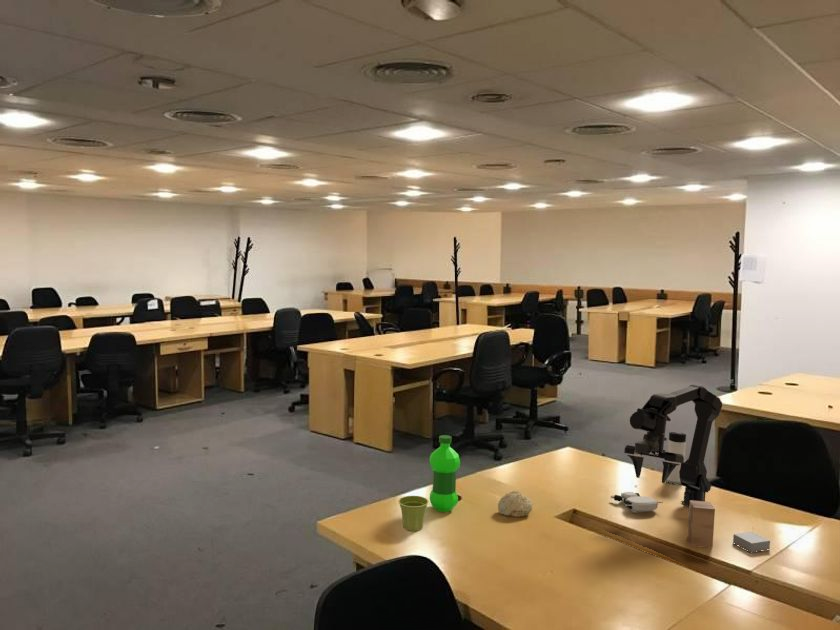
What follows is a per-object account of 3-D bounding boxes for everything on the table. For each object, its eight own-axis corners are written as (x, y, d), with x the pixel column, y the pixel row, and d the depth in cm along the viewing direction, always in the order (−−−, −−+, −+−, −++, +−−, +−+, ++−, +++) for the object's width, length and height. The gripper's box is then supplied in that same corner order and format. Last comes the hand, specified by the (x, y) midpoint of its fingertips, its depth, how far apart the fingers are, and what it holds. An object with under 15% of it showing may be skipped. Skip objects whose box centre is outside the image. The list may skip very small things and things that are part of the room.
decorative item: (519, 511, 215) (497, 491, 221) (512, 531, 219) (490, 510, 225) (542, 498, 223) (521, 479, 229) (535, 517, 227) (513, 498, 233)
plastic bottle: (463, 512, 224) (466, 439, 222) (434, 516, 220) (436, 442, 218) (451, 501, 233) (453, 431, 231) (423, 505, 230) (425, 434, 227)
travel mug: (665, 483, 258) (667, 432, 257) (667, 478, 264) (670, 429, 262) (682, 486, 255) (685, 435, 254) (684, 481, 261) (687, 431, 259)
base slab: (750, 540, 207) (751, 531, 206) (769, 550, 200) (770, 540, 200) (733, 543, 204) (733, 534, 204) (751, 553, 198) (751, 543, 197)
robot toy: (607, 504, 238) (633, 517, 223) (608, 491, 237) (633, 503, 223) (637, 501, 241) (664, 513, 227) (637, 488, 241) (664, 500, 227)
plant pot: (424, 535, 205) (425, 507, 204) (394, 531, 207) (395, 504, 206) (430, 523, 214) (431, 497, 213) (401, 520, 216) (402, 494, 215)
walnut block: (687, 537, 208) (689, 500, 207) (707, 539, 207) (710, 502, 206) (691, 545, 202) (693, 507, 201) (712, 547, 201) (714, 509, 200)
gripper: (617, 426, 223) (611, 473, 221) (669, 434, 209) (663, 484, 207) (636, 430, 230) (630, 475, 228) (687, 437, 216) (681, 486, 214)
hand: (650, 480), depth 219 cm, fingers open, 9 cm apart
